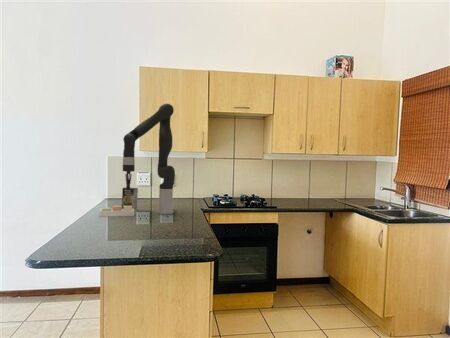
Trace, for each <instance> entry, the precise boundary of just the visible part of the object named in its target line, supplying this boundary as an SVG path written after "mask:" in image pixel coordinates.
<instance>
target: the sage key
mask: <svg viewBox="0 0 450 338" xmlns="http://www.w3.org/2000/svg"><path fill="white" fill-rule="evenodd" d="M101 209H102V211H111V209H112V207H111V206H110V207H102V208H101Z"/></svg>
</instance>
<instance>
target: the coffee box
mask: <svg viewBox="0 0 450 338" xmlns="http://www.w3.org/2000/svg"><path fill="white" fill-rule="evenodd" d="M121 189H122V192H121V193H122V195H121V197H122V198H121V206H122V209H123V206H132V209H134V212H135V211H137V210H138V197H139V195H138V194H139V193H138V191H139V188H138V187H130V190H126V187H122V188H121Z"/></svg>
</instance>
